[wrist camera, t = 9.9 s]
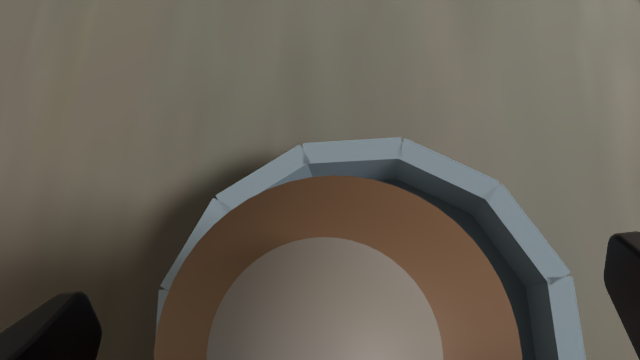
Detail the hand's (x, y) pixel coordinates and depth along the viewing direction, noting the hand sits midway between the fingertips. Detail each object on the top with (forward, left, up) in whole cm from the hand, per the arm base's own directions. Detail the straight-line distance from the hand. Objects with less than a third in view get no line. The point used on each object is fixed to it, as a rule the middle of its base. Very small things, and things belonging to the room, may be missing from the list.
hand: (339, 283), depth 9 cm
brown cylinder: (-1, 0, -8) cm, 9 cm away
